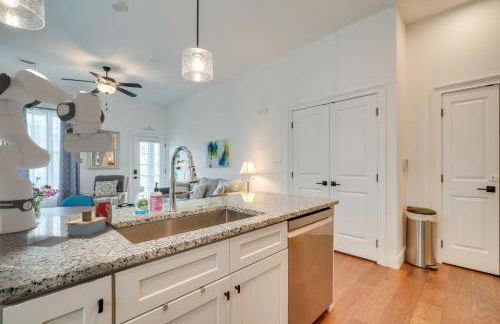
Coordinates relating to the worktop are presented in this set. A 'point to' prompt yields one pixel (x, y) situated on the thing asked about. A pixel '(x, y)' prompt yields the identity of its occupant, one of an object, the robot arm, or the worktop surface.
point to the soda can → (104, 211)
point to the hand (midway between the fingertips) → (89, 162)
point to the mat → (50, 241)
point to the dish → (86, 228)
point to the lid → (86, 219)
